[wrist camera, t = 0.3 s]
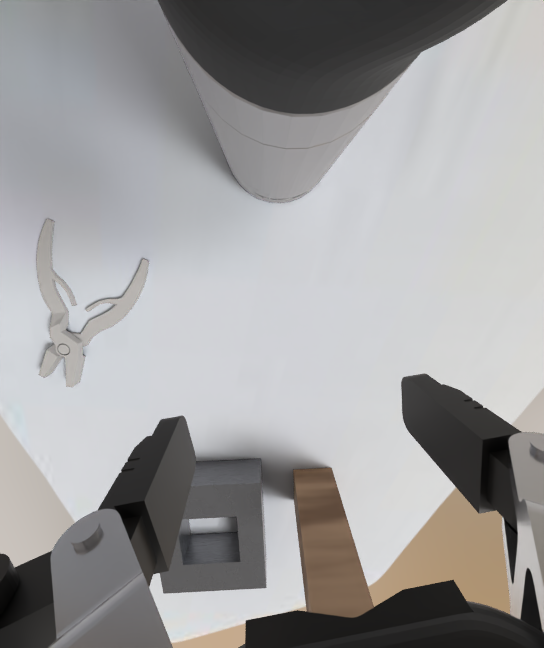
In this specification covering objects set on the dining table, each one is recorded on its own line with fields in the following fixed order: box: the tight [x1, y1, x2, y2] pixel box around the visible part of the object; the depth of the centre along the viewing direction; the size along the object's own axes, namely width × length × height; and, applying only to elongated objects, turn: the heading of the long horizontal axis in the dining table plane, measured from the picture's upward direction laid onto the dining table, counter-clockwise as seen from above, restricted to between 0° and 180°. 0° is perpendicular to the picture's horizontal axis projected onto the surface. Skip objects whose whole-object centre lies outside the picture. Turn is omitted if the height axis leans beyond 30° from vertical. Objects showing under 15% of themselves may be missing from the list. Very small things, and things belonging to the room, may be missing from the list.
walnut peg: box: [293, 468, 374, 618], centre depth 27 cm, size 4×4×14 cm
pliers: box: [36, 219, 149, 387], centre depth 27 cm, size 10×2×15 cm
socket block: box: [160, 459, 266, 593], centre depth 33 cm, size 15×12×4 cm
